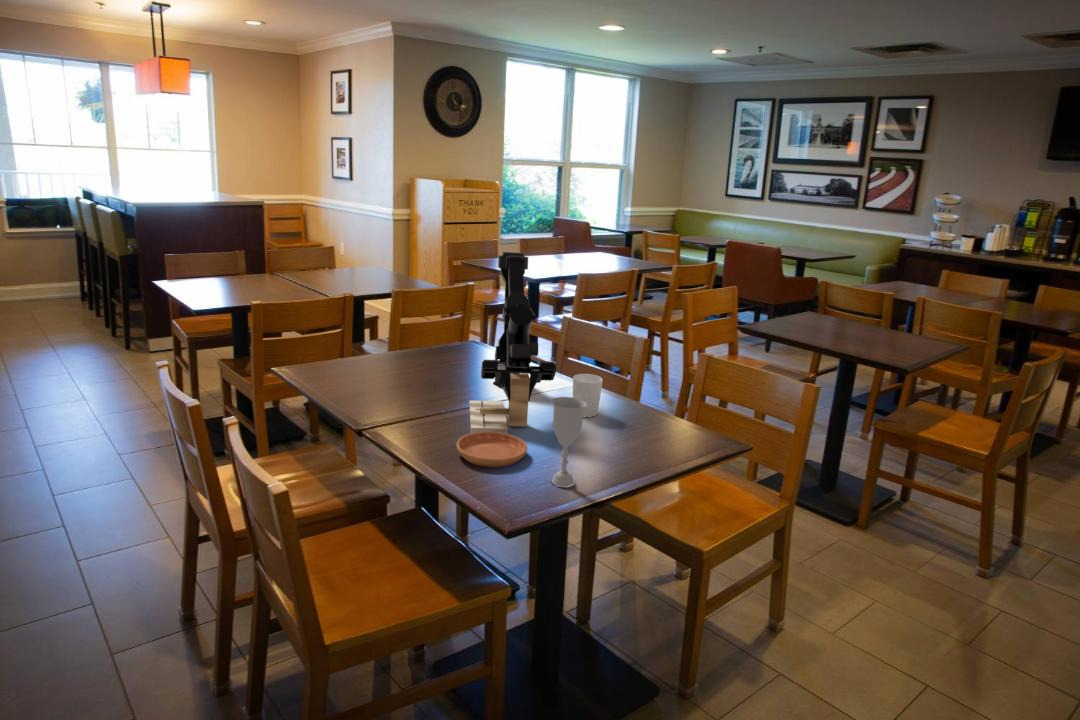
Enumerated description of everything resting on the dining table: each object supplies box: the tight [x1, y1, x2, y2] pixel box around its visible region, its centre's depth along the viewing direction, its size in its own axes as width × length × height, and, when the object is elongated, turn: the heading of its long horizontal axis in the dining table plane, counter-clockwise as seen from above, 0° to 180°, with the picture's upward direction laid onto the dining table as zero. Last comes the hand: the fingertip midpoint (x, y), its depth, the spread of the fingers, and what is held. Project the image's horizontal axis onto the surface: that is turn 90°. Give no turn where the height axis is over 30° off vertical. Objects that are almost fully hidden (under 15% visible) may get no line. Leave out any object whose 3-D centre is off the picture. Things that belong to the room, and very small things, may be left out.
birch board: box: [468, 400, 509, 434], centre depth 185 cm, size 20×9×2 cm, turn 7°
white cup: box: [572, 373, 604, 418], centre depth 193 cm, size 8×8×10 cm
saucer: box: [456, 432, 528, 468], centre depth 163 cm, size 16×16×3 cm
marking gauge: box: [480, 373, 530, 427], centre depth 179 cm, size 4×12×12 cm, turn 96°
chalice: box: [551, 396, 587, 486], centre depth 149 cm, size 7×7×18 cm
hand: (519, 400), depth 178 cm, fingers closed on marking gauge, 4 cm apart
